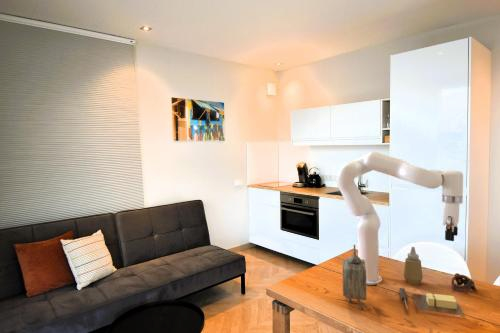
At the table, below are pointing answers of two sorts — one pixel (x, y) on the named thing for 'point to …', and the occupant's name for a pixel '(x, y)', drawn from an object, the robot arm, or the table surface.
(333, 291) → the table surface
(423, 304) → the cutting board
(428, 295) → the butter slice
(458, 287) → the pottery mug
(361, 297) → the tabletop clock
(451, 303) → the butter
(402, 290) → the knife
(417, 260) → the squeeze bottle
